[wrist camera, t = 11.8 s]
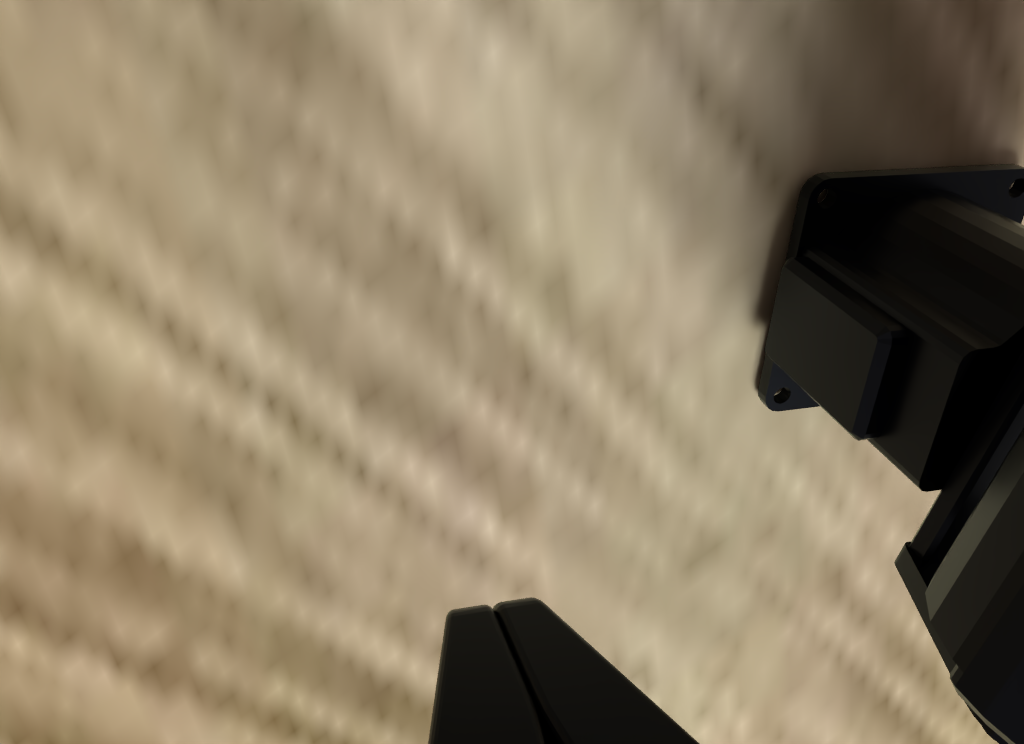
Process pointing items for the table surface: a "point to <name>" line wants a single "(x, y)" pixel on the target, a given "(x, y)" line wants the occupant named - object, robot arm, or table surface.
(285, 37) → the table surface
